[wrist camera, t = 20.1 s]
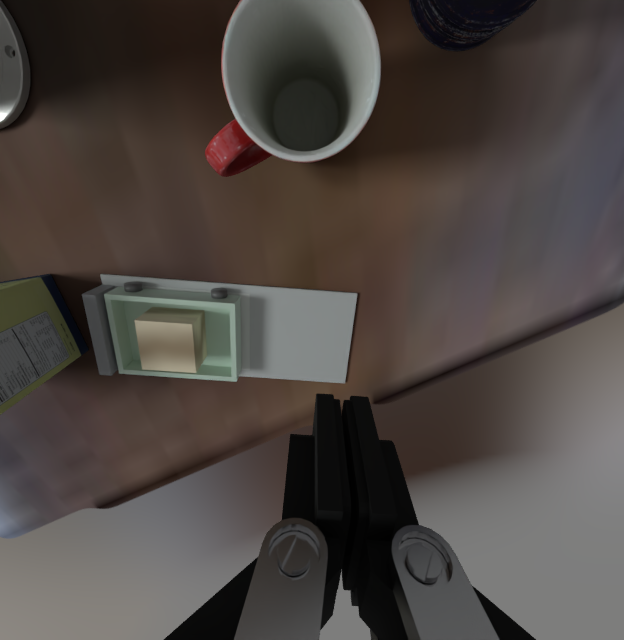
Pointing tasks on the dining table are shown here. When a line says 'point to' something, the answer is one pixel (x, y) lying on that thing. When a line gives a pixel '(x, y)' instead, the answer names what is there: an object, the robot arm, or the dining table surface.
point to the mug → (295, 81)
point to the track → (255, 327)
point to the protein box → (34, 336)
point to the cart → (216, 305)
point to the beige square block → (171, 339)
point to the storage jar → (465, 20)
